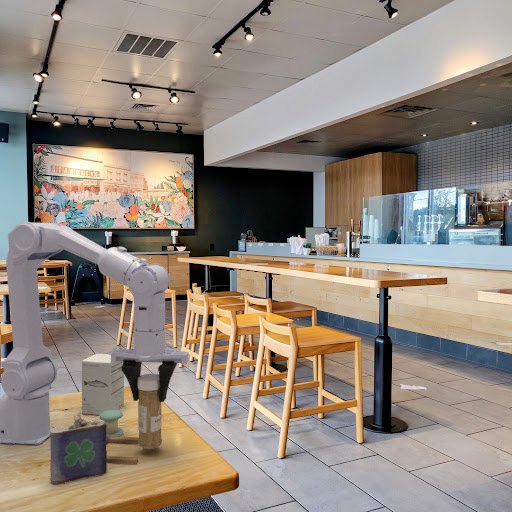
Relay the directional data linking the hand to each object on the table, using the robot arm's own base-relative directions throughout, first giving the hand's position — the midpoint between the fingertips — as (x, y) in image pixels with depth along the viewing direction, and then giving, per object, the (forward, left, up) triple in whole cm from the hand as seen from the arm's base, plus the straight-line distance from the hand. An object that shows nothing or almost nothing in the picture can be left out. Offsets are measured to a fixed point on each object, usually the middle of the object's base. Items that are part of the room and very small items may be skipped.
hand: (149, 399), depth 95 cm
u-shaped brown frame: (-6, 0, -10) cm, 12 cm away
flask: (-9, -10, -11) cm, 17 cm away
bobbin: (-10, +7, -10) cm, 17 cm away
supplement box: (-17, +21, -11) cm, 29 cm away
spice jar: (0, +1, -9) cm, 9 cm away
